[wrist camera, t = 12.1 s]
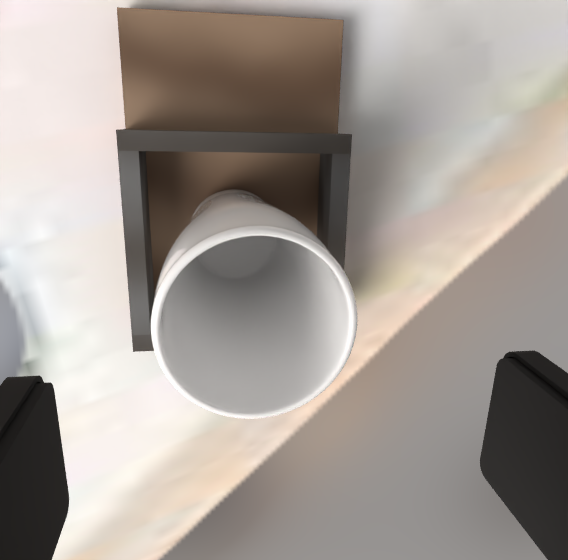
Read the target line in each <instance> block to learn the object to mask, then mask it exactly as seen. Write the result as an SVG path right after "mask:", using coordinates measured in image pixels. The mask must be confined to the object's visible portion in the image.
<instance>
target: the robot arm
mask: <svg viewBox="0 0 568 560" xmlns="http://www.w3.org/2000/svg"><path fill="white" fill-rule="evenodd" d="M480 467H481V471H482V473H483V476H484V477H485V479H486V480H487V481H488V483H489V484H490V485H491V487H492V488H493V489H494V490H495V492H496V493H497V494H498V496H499V497H500V498H501V500H502V501H503V502H504V503H505V505H506V506H507V507H508V509H509V510H510V511H511V513H512V514H513V515H514V516H515V518H516V519H517V520H518V522H519V523H520V524H521V525H522V527H523V528H524V529H525V531H526V532H527V533H528V535H529V536H530V537H531V538H532V540H533V541H534V542H535V544H536V545H537V546H538V547H539V549H540V550H541V551H542V553H543V554H544V555H545V557H546V558H547V559H548V560H568V373H567V372H565V371H564V370H562V369H561V368H560V367H558V366H557V365H555V364H554V363H552V362H551V361H550V360H548V359H547V358H546V357H544V356H543V355H541V354H540V353H538V352H536V351H516V352H508V353H507V354H506V355H505V356H504V358H503V359H500V360H499V362H498V364H497V368H496V373H495V378H494V384H493V390H492V396H491V401H490V407H489V412H488V418H487V424H486V429H485V435H484V440H483V447H482V452H481V457H480ZM68 507H69V493H68V486H67V479H66V472H65V464H64V457H63V450H62V443H61V436H60V429H59V422H58V415H57V407H56V400H55V393H54V388H53V385H52V383H44V382H43V379H42V377H40V376H24V377H7V378H6V379H5V380H4V381H3V383H2V384H1V385H0V560H52V557H53V554H54V551H55V548H56V545H57V543H58V540H59V537H60V534H61V531H62V528H63V525H64V522H65V519H66V516H67V513H68Z"/></svg>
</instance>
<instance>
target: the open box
mask: <svg viewBox="0 0 568 560" xmlns="http://www.w3.org/2000/svg"><path fill="white" fill-rule="evenodd" d="M117 15H118V29H119V43H120V57H121V71H122V85H123V99H124V113H125V127H126V129H123V130H116V134H117V147H118V160H119V173H120V186H121V199H122V212H123V225H124V238H125V251H126V264H127V277H128V290H129V303H130V316H131V329H132V342H133V352H135V351H154V348H153V343H152V338H151V315H152V308H153V303H154V296H155V290H156V286H157V282H158V278H159V275H160V272H161V269H162V266H163V263H164V261H165V259H166V256H167V254H168V252H169V250H170V248H171V247H172V245H173V243H174V242H175V240H176V239H177V237H178V236H179V234H180V233H181V232H182V230H183V229H184V228H185V227H186V225H187V224H188V223H189V222H190V220H191V217H192V215H193V213H194V211H195V210H196V208H197V207H198V206H199V204H200V203H201V202H202V201H204V200H205V199H206V198H207V197H209V196H211V195H212V194H214V193H217V192H220V191H223V190H229V189H238V190H244V191H248V192H251V193H253V194H255V195H257V196H258V197H260V198H261V199H263V200H264V201H265V202H266V203H268V204H270V205H272V206H274V207H276V208H278V209H280V210H282V211H284V212H286V213H288V214H290V215H291V216H293V217H294V218H296V219H297V220H299V221H300V222H301V223H303V224H304V225H305V226H306V227H307V228H309V229H310V230H311V231H312V232H313V233H314V234H315V235H316V236H317V237H318V238H319V239H320V240H321V241H322V243H323V244H324V245H325V246H326V247H327V249H328V250H329V251H330V252H331V254H332V255H333V256H334V258H335V259H336V261H337V262H338V263H339V265H340V266H341V267H342V269H343V270H344V258H345V241H346V224H347V207H348V190H349V173H350V157H351V140H352V134H338V116H339V96H340V77H341V57H342V37H343V20H336V19H318V18H299V17H281V16H263V15H245V14H227V13H209V12H191V11H173V10H154V9H136V8H118V7H117Z"/></svg>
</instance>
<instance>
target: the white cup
mask: <svg viewBox="0 0 568 560" xmlns="http://www.w3.org/2000/svg"><path fill="white" fill-rule="evenodd" d="M356 330H357V306H356V300H355V296H354V292H353V289H352V287H351V284H350V281H349V280H348V278H347V276H346V274H345V272H344V270H343V269H342V267H341V266H340V265H339V263H338V262H337V261H336V259H335V258H334V256H333V255H332V254H331V252H330V251H329V250H328V249H327V247H326V246H325V245H324V244H323V243H322V241H321V240H320V239H319V238H318V237H317V236H316V235H315V234H314V233H313V232H312V231H311V230H310V229H309V228H307V227H306V226H305V225H304V224H303V223H301V222H300V221H299V220H297V219H296V218H294V217H293V216H291V215H290V214H288V213H286V212H284V211H282V210H280V209H278V208H276V207H274V206H272V205H270V204H268V203H266V202H265V201H264V200H263V199H261V198H260V197H258V196H257V195H255V194H253V193H251V192H248V191H244V190H238V189H229V190H223V191H220V192H217V193H214V194H212V195H211V196H209V197H207V198H206V199H205V200H204V201H202V202H201V203H200V204H199V206H198V207H197V208H196V210H195V211H194V213H193V215H192V217H191V220H190V222H189V223H188V224H187V225H186V227H185V228H184V229H183V230H182V232H181V233H180V234H179V236H178V237H177V239H176V240H175V242H174V243H173V245H172V247H171V248H170V250H169V252H168V254H167V256H166V259H165V261H164V263H163V266H162V269H161V272H160V275H159V278H158V282H157V286H156V290H155V296H154V303H153V308H152V315H151V338H152V343H153V348H154V351H155V355H156V358H157V360H158V362H159V365H160V367H161V368H162V370H163V372H164V374H165V375H166V377H167V378H168V379H169V381H170V382H171V383H172V384H173V386H174V387H175V388H176V389H177V390H178V391H179V392H180V393H181V394H182V395H184V396H185V397H186V398H188V399H189V400H190V401H192V402H193V403H195V404H197V405H198V406H200V407H202V408H204V409H206V410H208V411H211V412H214V413H216V414H220V415H223V416H228V417H233V418H243V419H256V418H266V417H272V416H276V415H280V414H283V413H286V412H289V411H292V410H294V409H296V408H299V407H301V406H302V405H304V404H306V403H308V402H309V401H311V400H312V399H314V398H315V397H317V396H318V395H319V394H320V393H322V392H323V391H324V390H325V389H326V388H327V387H328V386H329V385H330V384H331V383H332V382H333V381H334V380H335V378H336V377H337V376H338V374H339V373H340V372H341V370H342V369H343V367H344V365H345V364H346V362H347V360H348V357H349V355H350V353H351V350H352V347H353V344H354V341H355V337H356Z"/></svg>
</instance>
